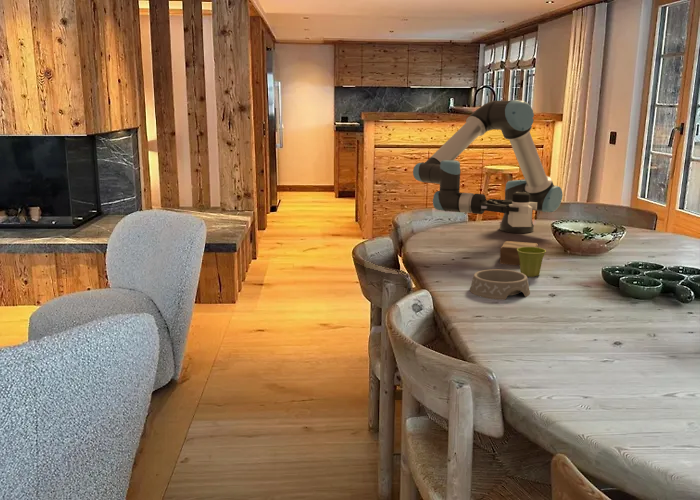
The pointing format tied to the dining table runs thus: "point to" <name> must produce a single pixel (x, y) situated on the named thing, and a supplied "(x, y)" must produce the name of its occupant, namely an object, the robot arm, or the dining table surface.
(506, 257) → the walnut box
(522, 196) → the medicine bottle
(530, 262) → the plant pot
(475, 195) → the robot arm
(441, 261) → the dining table surface
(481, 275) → the dog bowl
